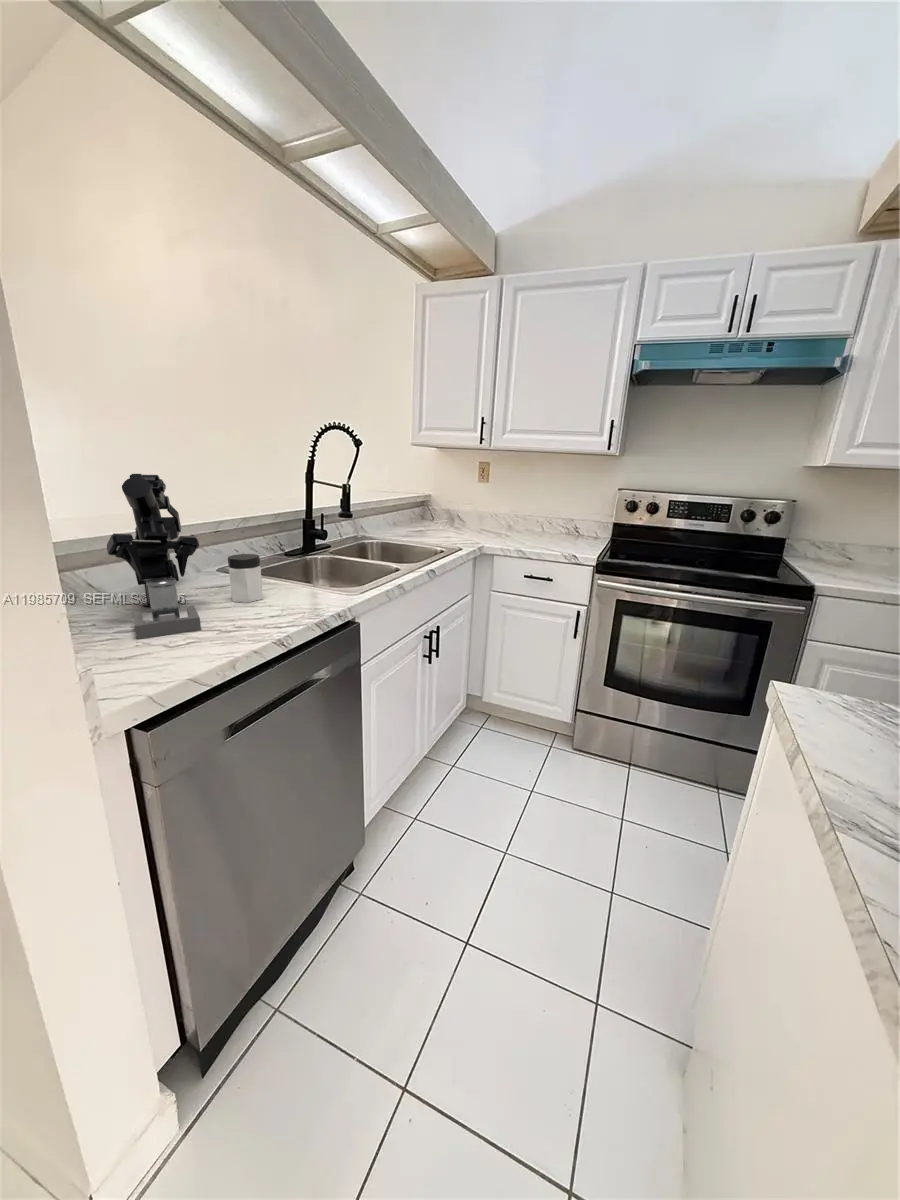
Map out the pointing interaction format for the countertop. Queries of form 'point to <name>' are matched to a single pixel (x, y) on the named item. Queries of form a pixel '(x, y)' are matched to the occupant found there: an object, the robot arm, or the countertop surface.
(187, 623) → the u-shaped bracket
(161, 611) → the dark grey flanged cylinder
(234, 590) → the jar
